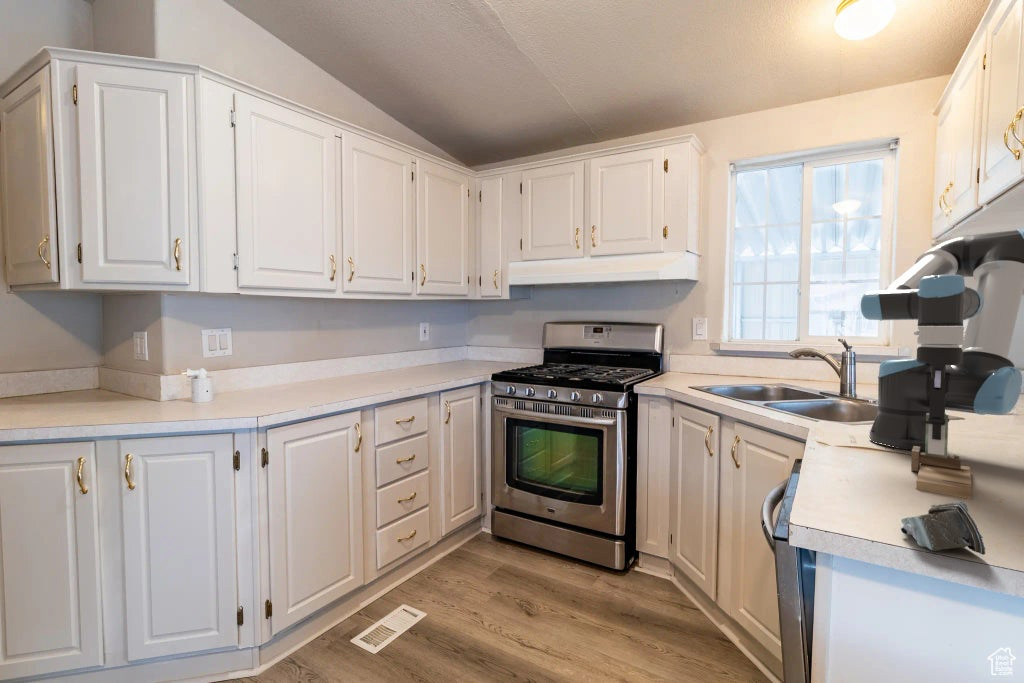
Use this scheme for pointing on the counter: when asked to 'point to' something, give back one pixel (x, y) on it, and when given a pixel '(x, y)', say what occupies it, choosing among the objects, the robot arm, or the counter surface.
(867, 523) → the counter surface
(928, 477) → the oak board
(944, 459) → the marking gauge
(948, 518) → the chocolate cake
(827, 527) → the counter surface
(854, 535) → the counter surface
